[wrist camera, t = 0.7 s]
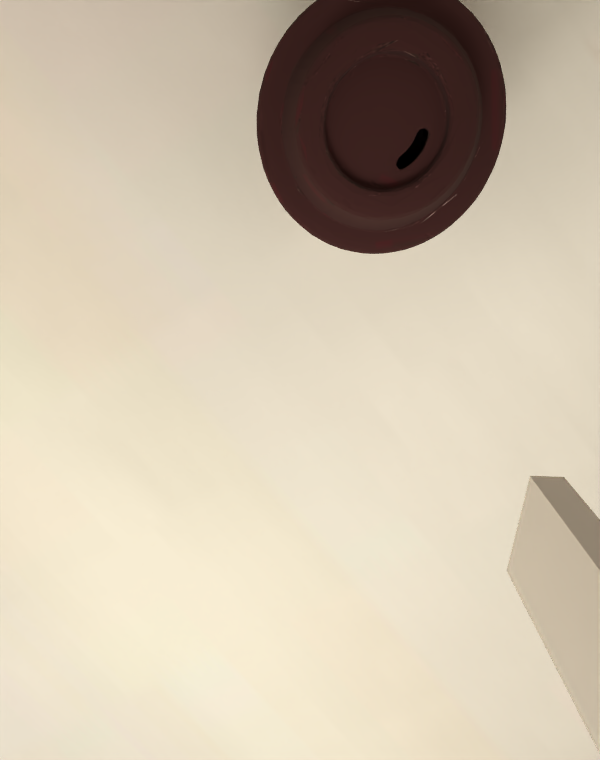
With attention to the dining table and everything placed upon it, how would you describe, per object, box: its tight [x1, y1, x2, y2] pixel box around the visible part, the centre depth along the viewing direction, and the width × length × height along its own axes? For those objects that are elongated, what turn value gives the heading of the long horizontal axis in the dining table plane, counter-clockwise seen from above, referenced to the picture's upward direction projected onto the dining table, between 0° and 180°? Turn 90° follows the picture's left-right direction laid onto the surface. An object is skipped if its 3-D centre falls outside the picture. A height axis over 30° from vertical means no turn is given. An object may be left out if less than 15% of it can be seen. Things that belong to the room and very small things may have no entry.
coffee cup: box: [257, 0, 506, 254], centre depth 26 cm, size 10×10×15 cm
